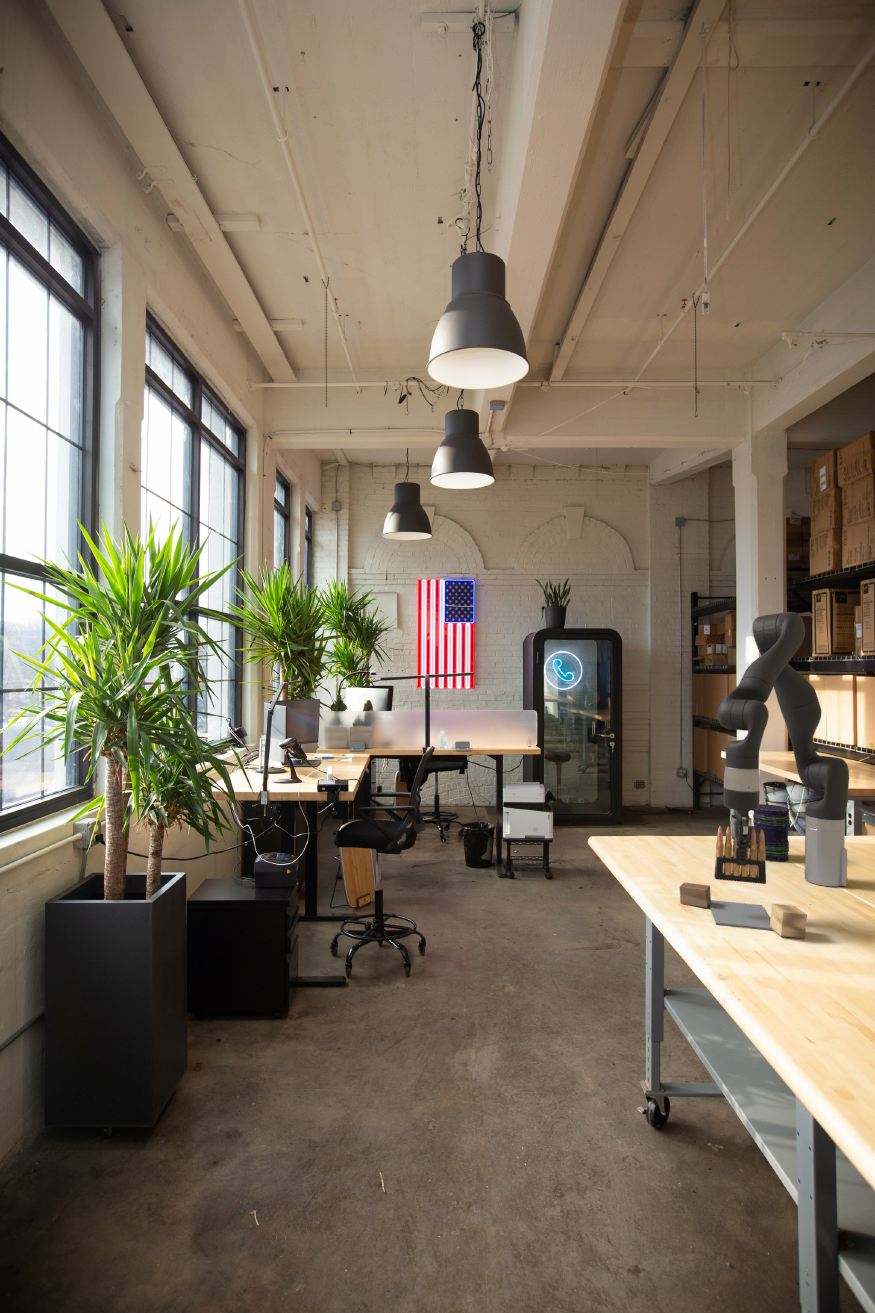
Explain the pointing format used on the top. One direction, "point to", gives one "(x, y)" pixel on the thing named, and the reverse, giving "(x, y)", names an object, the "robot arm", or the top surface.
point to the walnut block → (695, 894)
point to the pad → (740, 915)
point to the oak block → (788, 921)
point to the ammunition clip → (730, 867)
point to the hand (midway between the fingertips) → (740, 863)
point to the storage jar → (773, 831)
